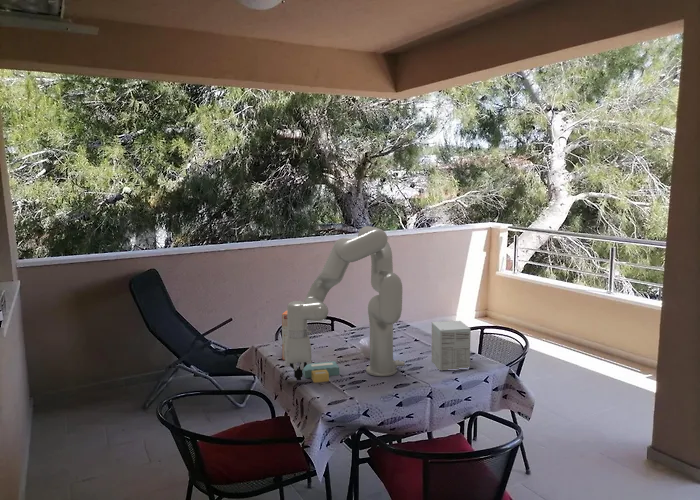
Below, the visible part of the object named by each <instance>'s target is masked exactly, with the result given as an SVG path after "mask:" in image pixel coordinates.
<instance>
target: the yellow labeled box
mask: <svg viewBox="0 0 700 500" xmlns="http://www.w3.org/2000/svg"><path fill="white" fill-rule="evenodd" d="M311 373H312V378H311V380H312V382H313V383H314V384H316V383H324V382H330V376H329V373H328V371H327V370H316V371H311Z"/></svg>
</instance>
